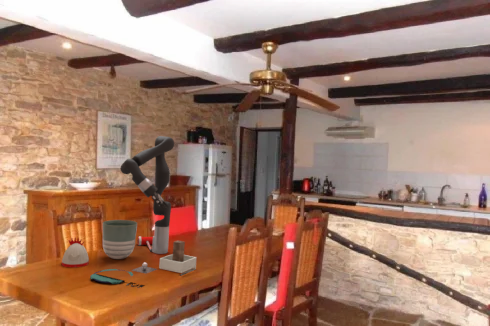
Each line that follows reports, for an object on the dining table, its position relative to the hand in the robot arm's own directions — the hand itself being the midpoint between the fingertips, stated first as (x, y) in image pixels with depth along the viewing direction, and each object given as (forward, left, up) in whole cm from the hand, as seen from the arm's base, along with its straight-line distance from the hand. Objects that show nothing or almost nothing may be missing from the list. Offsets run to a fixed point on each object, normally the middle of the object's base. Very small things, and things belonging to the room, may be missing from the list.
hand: (166, 208), depth 237 cm
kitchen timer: (-37, -31, -33) cm, 58 cm away
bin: (+15, -7, -33) cm, 36 cm away
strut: (+15, -7, -32) cm, 36 cm away
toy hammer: (-31, +26, -33) cm, 53 cm away
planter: (-27, -8, -33) cm, 43 cm away
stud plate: (+3, -21, -33) cm, 39 cm away
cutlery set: (+1, -37, -33) cm, 50 cm away
